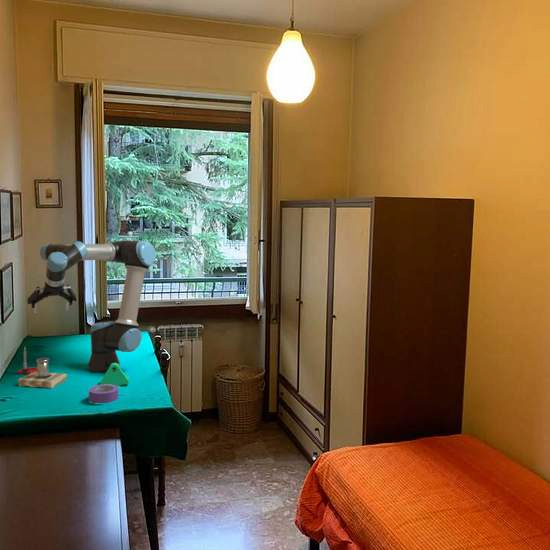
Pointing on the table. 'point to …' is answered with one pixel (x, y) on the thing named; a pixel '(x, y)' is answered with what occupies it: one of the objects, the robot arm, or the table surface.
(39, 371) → the domed cap cylinder
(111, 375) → the green triangle
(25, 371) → the tow hook
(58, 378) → the jig
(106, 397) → the tape roll
